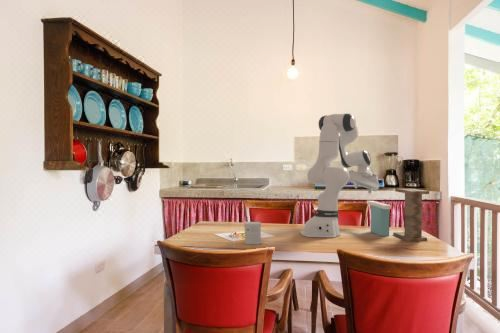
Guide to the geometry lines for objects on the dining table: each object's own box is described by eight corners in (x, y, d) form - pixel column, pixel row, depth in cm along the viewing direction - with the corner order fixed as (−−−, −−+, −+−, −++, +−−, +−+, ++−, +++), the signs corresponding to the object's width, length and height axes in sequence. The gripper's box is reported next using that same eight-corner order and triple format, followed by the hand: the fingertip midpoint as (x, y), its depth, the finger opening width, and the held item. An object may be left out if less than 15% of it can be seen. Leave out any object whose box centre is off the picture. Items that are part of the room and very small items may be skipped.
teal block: (380, 235, 183) (380, 208, 183) (370, 231, 195) (371, 205, 195) (389, 235, 184) (389, 208, 183) (378, 231, 196) (379, 205, 195)
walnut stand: (409, 242, 169) (410, 191, 168) (393, 235, 185) (393, 188, 184) (429, 241, 170) (430, 191, 170) (411, 234, 186) (412, 188, 185)
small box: (260, 241, 170) (260, 221, 170) (260, 244, 164) (260, 223, 164) (245, 241, 170) (245, 221, 170) (244, 244, 165) (244, 223, 165)
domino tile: (384, 209, 180) (384, 205, 180) (366, 203, 202) (366, 200, 202) (391, 209, 180) (391, 205, 180) (372, 203, 202) (372, 200, 202)
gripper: (351, 166, 216) (350, 181, 207) (380, 177, 216) (380, 193, 206) (347, 172, 221) (345, 187, 211) (375, 183, 220) (375, 198, 211)
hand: (362, 190), depth 209 cm, fingers open, 8 cm apart
